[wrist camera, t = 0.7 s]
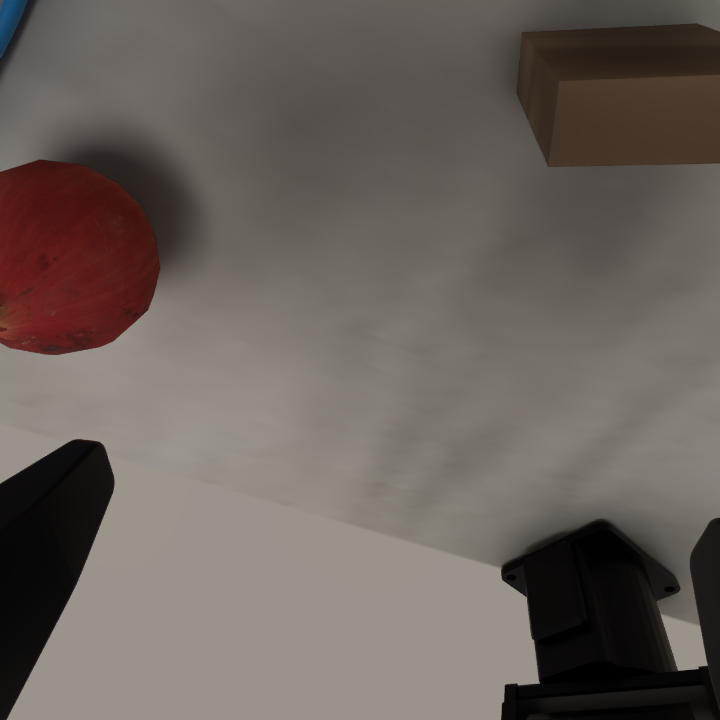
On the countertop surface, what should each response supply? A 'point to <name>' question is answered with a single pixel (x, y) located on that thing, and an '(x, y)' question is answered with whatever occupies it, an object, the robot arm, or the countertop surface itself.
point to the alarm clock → (9, 20)
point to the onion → (71, 258)
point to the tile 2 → (623, 95)
